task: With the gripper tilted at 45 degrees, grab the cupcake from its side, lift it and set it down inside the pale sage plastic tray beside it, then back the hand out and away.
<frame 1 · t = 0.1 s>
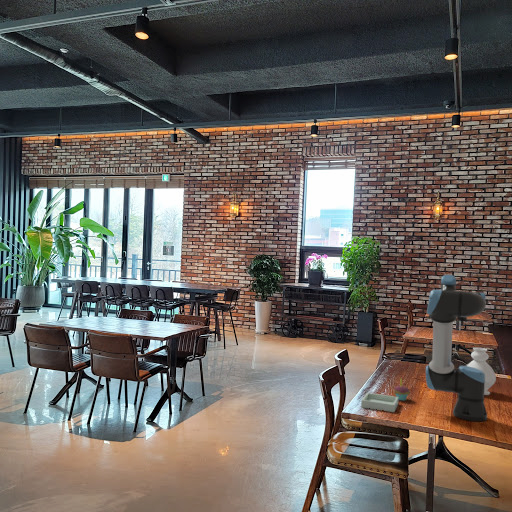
hand: (447, 327, 296), 36 cm above the table, tool tilted 35°, fingers open, 13 cm apart
cupcake: (401, 399, 272), on the table
decorative vase: (478, 392, 294), on the table
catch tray: (379, 405, 258), on the table
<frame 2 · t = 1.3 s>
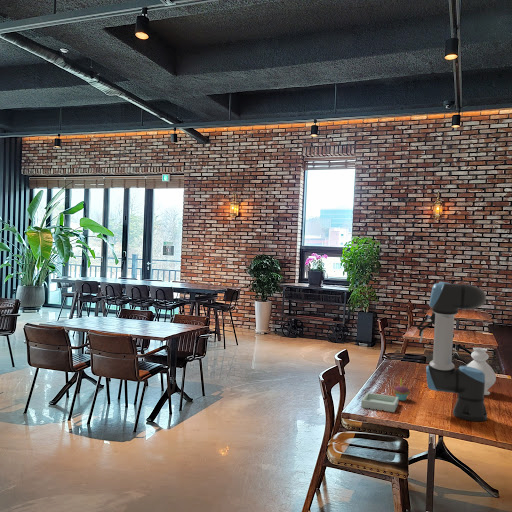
hand: (432, 345, 291), 26 cm above the table, tool pointing down, fingers open, 13 cm apart
nothing on the table moved.
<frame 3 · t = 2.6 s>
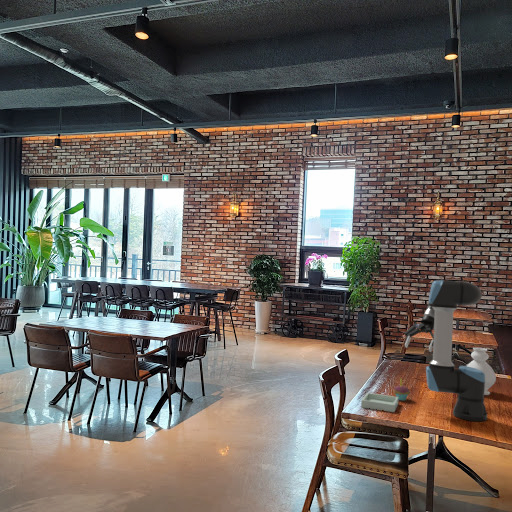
hand: (417, 348, 281), 26 cm above the table, tool tilted 45°, fingers open, 13 cm apart
nothing on the table moved.
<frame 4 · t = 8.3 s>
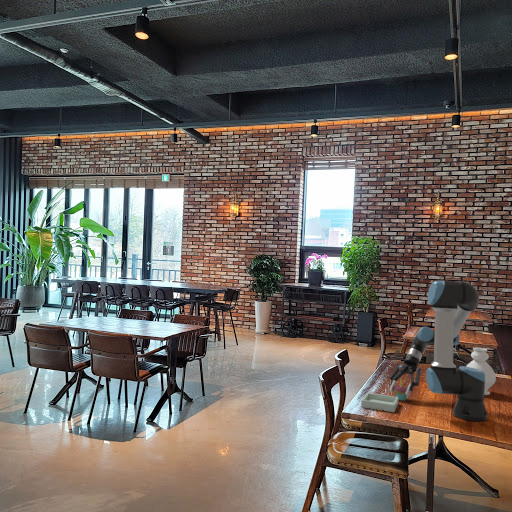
hand: (398, 393, 269), 4 cm above the table, tool tilted 45°, fingers closed on cupcake, 8 cm apart
cupcake: (401, 399, 272), on the table, touching gripper
everything else where it was.
when the fingers open (6 cm above the table, at t = 14.9 s): cupcake drops 1 cm, resting on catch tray.
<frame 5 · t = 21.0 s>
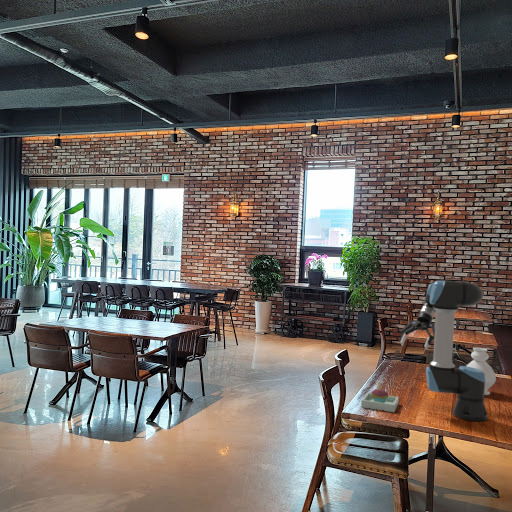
hand: (413, 346, 277), 28 cm above the table, tool tilted 45°, fingers open, 13 cm apart
cupcake: (379, 403, 258), point 1 cm above the table, touching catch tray
everything else where it was.
at the end: cupcake inside the target area on the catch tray (0.4 cm from its centre), point 0.8 cm above the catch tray's base; cupcake tilted 0°; the gripper is holding nothing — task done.
